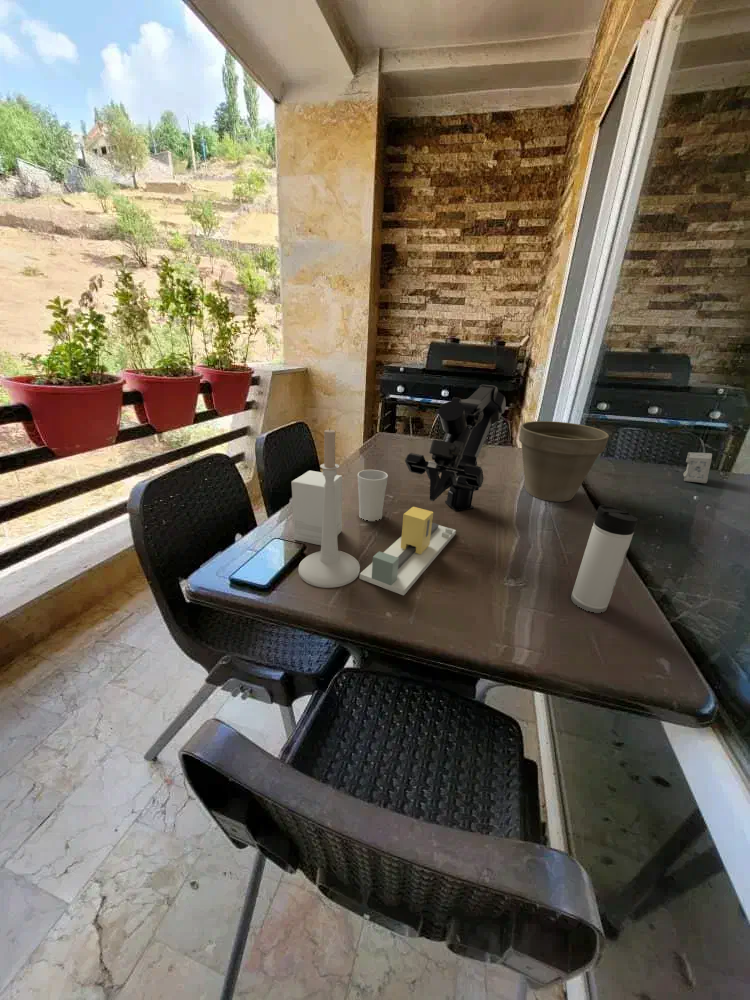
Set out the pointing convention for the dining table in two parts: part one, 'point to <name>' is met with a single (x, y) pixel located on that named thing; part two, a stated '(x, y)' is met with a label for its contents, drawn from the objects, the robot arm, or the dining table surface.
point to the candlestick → (329, 534)
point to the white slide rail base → (405, 562)
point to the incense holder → (697, 467)
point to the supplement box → (313, 506)
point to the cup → (371, 493)
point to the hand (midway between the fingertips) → (431, 500)
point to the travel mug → (603, 558)
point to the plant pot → (558, 457)
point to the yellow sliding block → (416, 529)
